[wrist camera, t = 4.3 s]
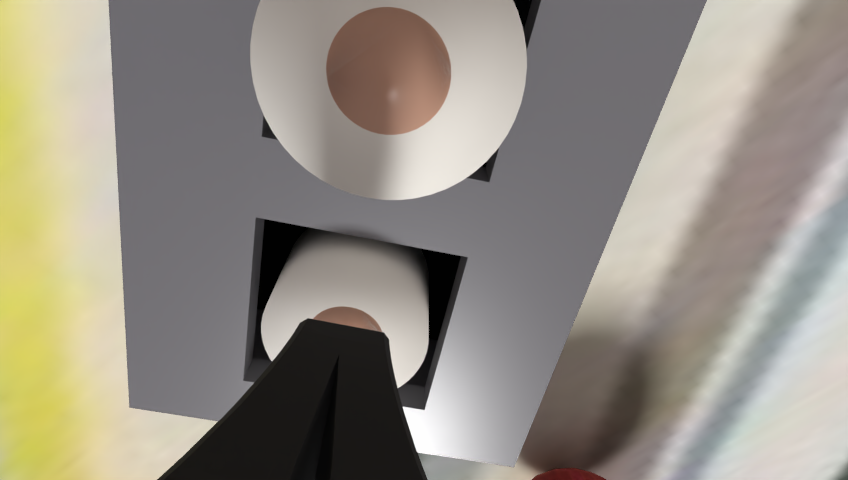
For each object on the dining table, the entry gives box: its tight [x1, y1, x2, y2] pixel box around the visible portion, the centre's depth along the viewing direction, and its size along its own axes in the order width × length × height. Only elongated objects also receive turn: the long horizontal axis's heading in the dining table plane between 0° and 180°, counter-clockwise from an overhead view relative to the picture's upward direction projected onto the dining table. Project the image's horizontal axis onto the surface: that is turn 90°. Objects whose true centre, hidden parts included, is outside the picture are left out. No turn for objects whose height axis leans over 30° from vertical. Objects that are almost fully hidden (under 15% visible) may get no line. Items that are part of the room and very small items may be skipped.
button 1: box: [261, 227, 429, 388], centre depth 16 cm, size 4×4×3 cm
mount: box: [109, 0, 707, 467], centre depth 14 cm, size 12×24×4 cm, turn 168°
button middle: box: [250, 0, 527, 200], centre depth 10 cm, size 4×4×3 cm
